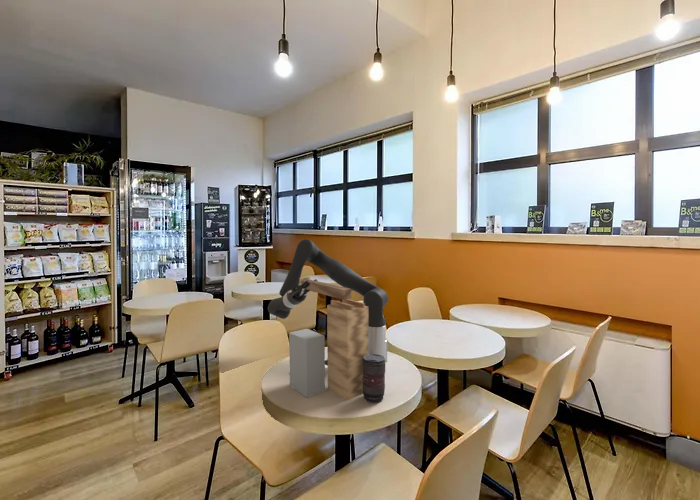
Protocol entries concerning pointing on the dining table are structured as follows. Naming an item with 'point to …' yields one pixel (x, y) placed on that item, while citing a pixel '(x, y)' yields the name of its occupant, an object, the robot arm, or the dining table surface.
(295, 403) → the dining table surface
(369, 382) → the camera lens
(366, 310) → the oak stand
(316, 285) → the walnut bar
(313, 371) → the grey block
